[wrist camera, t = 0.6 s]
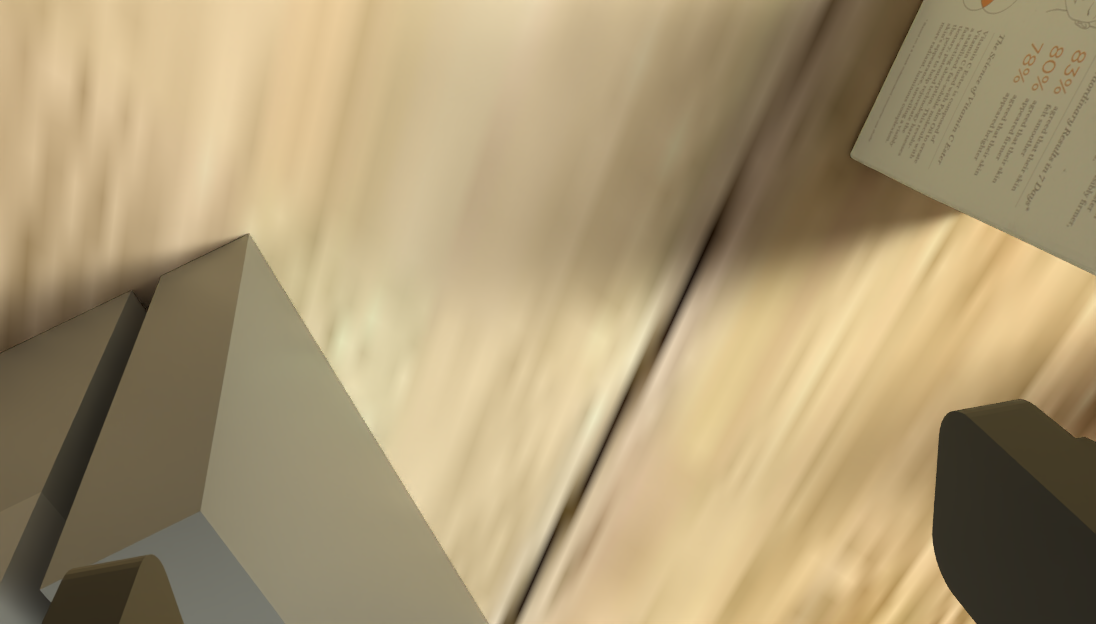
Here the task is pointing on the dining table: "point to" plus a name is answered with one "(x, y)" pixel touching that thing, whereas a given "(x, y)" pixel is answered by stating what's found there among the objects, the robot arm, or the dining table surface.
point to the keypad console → (208, 463)
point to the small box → (997, 118)
